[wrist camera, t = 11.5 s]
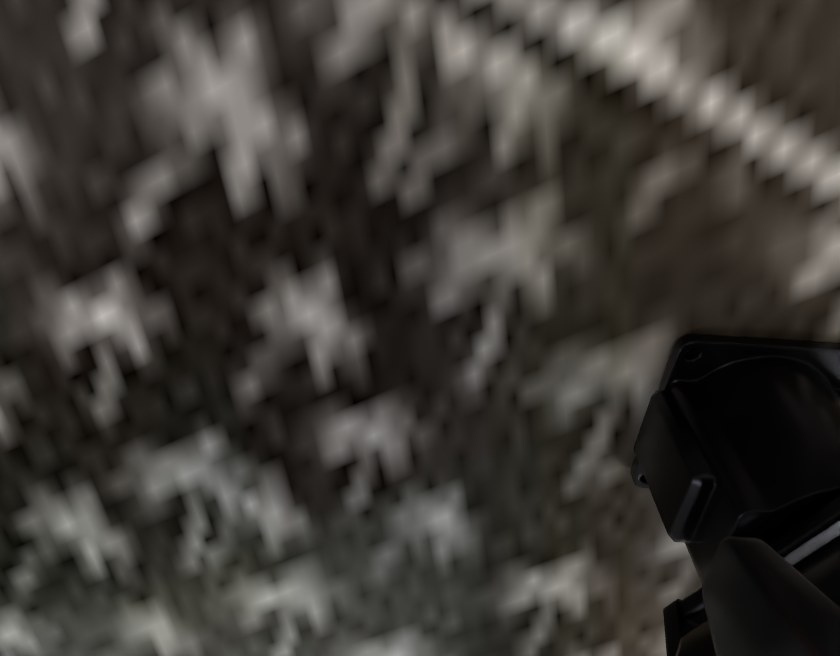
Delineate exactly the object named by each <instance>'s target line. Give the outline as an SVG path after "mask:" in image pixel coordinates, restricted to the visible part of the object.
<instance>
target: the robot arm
mask: <svg viewBox="0 0 840 656" xmlns="http://www.w3.org/2000/svg"><path fill="white" fill-rule="evenodd" d="M690 348H696V349H695V350H694V351H693V352H691V353H687V354H685V353H686V351H687V350H689V349H690ZM634 451H635V454H636V456H635V459H634V462H633V464H632V467H631V476H632V479H633V481H634V483H635V485H637V486H638V487H642V488H649V489H650V491H651V494H652V496H653V499H654V501H655V504H656V506H657V509H658V511H659V513H660V516H661V518H662V521H663V523H664V526H665V528H666V531H667V533H668V535H669V536H670V537H671V538H672V540H673V541H674V542H685V544H686V546H687V549H688V551H689V553H690V556H691V558H692V561H693V563H694V565H695V568H696V570H697V572H698V575H699V577H700V579H701V582H702V587H701V588H700V589H698V590H697V591H695V592H694V593H692V594H691V595H689V596H688V597H686V598H685V599H683V600H680V599H677V600H676V601H674V602H673V603H671V604H670V605H668V606H667V607H665V608H664V610H663V613H664V625H665V638H666V650H667V656H840V343H824V342H807V341H791V340H775V339H759V338H743V337H727V336H711V335H695V334H692V335H686V336H683V337H681V338H680V339H679V340H677V341H676V343H675V344H674V346H673V349H672V352H671V355H670V357H669V360H668V363H667V366H666V369H665V372H664V375H663V378H662V381H661V383H660V386H659V389H658V390H657V391H656V392H655V393H654V394H653V395H652V396H651V399H650V402H649V405H648V408H647V411H646V413H645V416H644V419H643V422H642V425H641V428H640V431H639V434H638V437H637V440H636V443H635V446H634ZM643 474H644V475H643Z"/></svg>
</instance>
